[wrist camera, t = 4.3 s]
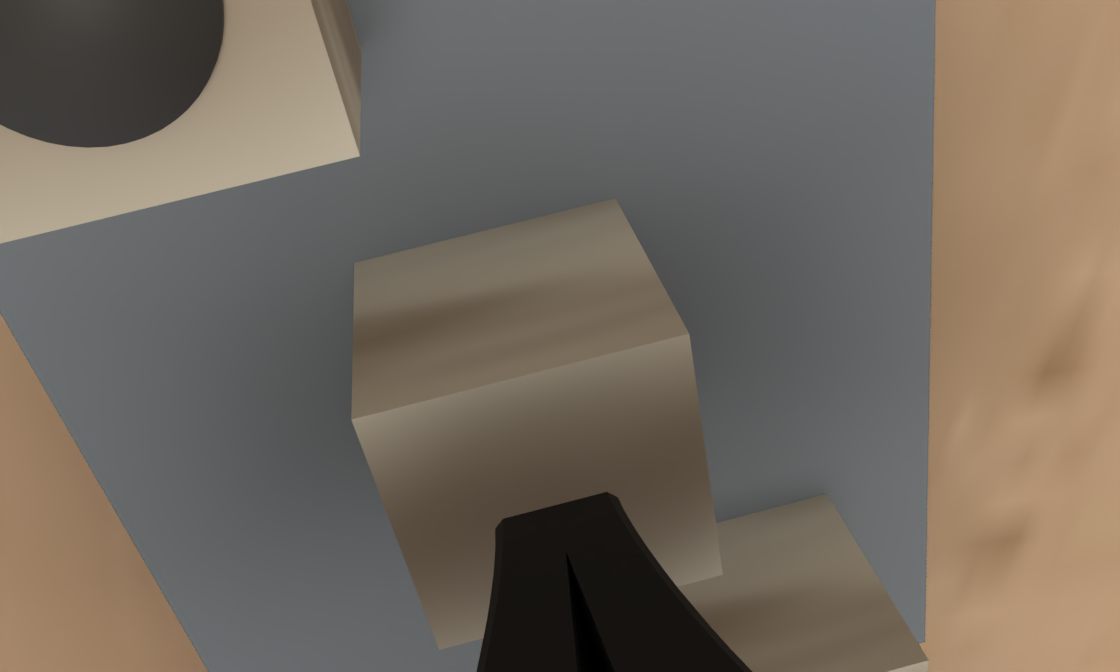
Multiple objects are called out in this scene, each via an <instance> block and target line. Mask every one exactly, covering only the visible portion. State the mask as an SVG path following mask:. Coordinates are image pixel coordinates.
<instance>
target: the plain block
mask: <svg viewBox="0 0 1120 672" xmlns="http://www.w3.org/2000/svg"><path fill="white" fill-rule="evenodd" d="M351 420H352V423H353V425H354V428H355V431H356V433H357V436H358V439H359V441H360V444H361V446H362V449H363V452H364V454H365V457H366V460H367V462H368V465H369V467H370V470H371V473H372V475H373V478H374V481H375V483H376V486H377V488H378V491H379V494H380V496H381V499H382V502H383V504H384V507H385V509H386V512H387V515H388V517H389V520H390V523H391V525H392V528H393V530H394V533H395V536H396V538H397V541H398V544H399V546H400V549H401V551H402V554H403V557H404V559H405V562H406V565H407V567H408V570H409V572H410V575H411V578H412V580H413V583H414V585H415V588H416V591H417V593H418V596H419V599H420V601H421V604H422V606H423V609H424V612H425V614H426V617H427V620H428V622H429V625H430V627H431V630H432V633H433V635H434V638H435V641H436V643H437V646H438V648H439V650H441V649H445V648H449V647H452V646H456V645H460V644H464V643H467V642H471V641H475V640H479V639H483V637H484V632H485V627H486V622H487V616H488V610H489V603H490V596H491V590H492V582H493V573H494V561H495V528H496V527H497V526H498V524H499V523H500V522H501V520H502V519H504V518H508V517H512V516H516V515H519V514H523V513H527V512H531V511H535V510H539V509H542V508H546V507H550V506H554V505H558V504H562V503H566V502H569V501H573V500H577V499H581V498H585V497H589V496H592V495H596V494H600V493H604V492H609V493H611V494H613V495H615V496H616V497H618V498H619V501H620V503H621V505H622V507H623V509H624V511H625V512H626V514H627V516H628V518H629V519H630V521H631V523H632V524H633V526H634V528H635V529H636V531H637V532H638V534H639V535H640V537H641V538H642V540H643V541H644V543H645V544H646V546H647V547H648V549H649V550H650V551H651V553H652V554H653V555H654V557H655V558H656V560H657V561H658V562H659V564H660V565H661V566H662V568H663V569H664V571H665V572H666V573H667V574H668V576H669V577H670V578H671V580H672V581H673V582H674V583H675V585H676V586H677V587H678V586H682V585H686V584H690V583H693V582H697V581H701V580H705V579H709V578H712V577H716V576H720V575H723V571H722V564H721V557H720V550H719V543H718V535H717V528H716V521H715V514H714V507H713V500H712V493H711V485H710V478H709V471H708V464H707V457H706V450H705V443H704V435H703V428H702V421H701V414H700V407H699V400H698V393H697V385H696V378H695V371H694V364H693V357H692V350H691V343H690V335H689V332H688V330H687V329H686V327H685V325H684V323H683V321H682V319H681V318H680V316H679V314H678V312H677V310H676V308H675V307H674V305H673V303H672V301H671V299H670V297H669V296H668V294H667V292H666V290H665V288H664V286H663V285H662V283H661V281H660V279H659V277H658V275H657V274H656V272H655V270H654V268H653V266H652V264H651V263H650V261H649V259H648V257H647V255H646V253H645V252H644V250H643V248H642V246H641V244H640V242H639V240H638V239H637V237H636V235H635V233H634V231H633V229H632V228H631V226H630V224H629V222H628V220H627V218H626V217H625V215H624V213H623V211H622V209H621V207H620V206H619V204H618V202H617V200H616V198H615V199H611V200H607V201H603V202H598V203H594V204H590V205H586V206H582V207H578V208H574V209H570V210H566V211H562V212H558V213H554V214H550V215H546V216H542V217H538V218H534V219H530V220H526V221H522V222H518V223H514V224H510V225H506V226H501V227H497V228H493V229H489V230H485V231H481V232H477V233H473V234H469V235H465V236H461V237H457V238H453V239H449V240H445V241H441V242H437V243H433V244H429V245H425V246H421V247H417V248H413V249H409V250H405V251H400V252H396V253H392V254H388V255H384V256H380V257H376V258H372V259H368V260H364V261H360V262H356V263H354V309H353V359H352V410H351Z"/></svg>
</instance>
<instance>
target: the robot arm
mask: <svg viewBox="0 0 1120 672" xmlns="http://www.w3.org/2000/svg"><path fill="white" fill-rule="evenodd" d="M477 672H752V671H751V670H750V669H749V667H748V666H747V665H746V664H745V663H744V662H743V661H742V660H741V659H740V658H739V657H738V656H737V655H736V654H735V653H734V652H733V651H732V650H731V649H730V648H729V646H728V645H727V644H726V643H725V642H724V641H723V640H722V639H721V638H720V637H719V635H718V634H717V633H716V632H715V631H714V630H713V629H712V628H711V626H710V625H709V624H708V623H707V622H706V621H705V619H704V618H703V617H702V616H701V615H700V613H699V612H698V611H697V610H696V609H695V607H694V606H693V605H692V604H691V603H690V602H689V600H688V599H687V598H686V597H685V596H684V594H683V593H682V592H681V591H680V590H679V588H678V587H677V586H676V585H675V583H674V582H673V581H672V580H671V578H670V577H669V576H668V574H667V573H666V572H665V571H664V569H663V568H662V566H661V565H660V564H659V562H658V561H657V560H656V558H655V557H654V555H653V554H652V553H651V551H650V550H649V549H648V547H647V546H646V544H645V543H644V541H643V540H642V538H641V537H640V535H639V534H638V532H637V531H636V529H635V528H634V526H633V524H632V523H631V521H630V519H629V518H628V516H627V514H626V512H625V511H624V509H623V507H622V505H621V503H620V501H619V498H618V497H616V496H615V495H613V494H611V493H609V492H604V493H600V494H596V495H592V496H589V497H585V498H581V499H577V500H573V501H569V502H566V503H562V504H558V505H554V506H550V507H546V508H542V509H539V510H535V511H531V512H527V513H523V514H519V515H516V516H512V517H508V518H504V519H502V520H501V522H500V523H499V524H498V526H497V527H496V528H495V561H494V573H493V582H492V590H491V596H490V603H489V610H488V616H487V622H486V627H485V632H484V637H483V642H482V647H481V652H480V657H479V662H478V667H477Z"/></svg>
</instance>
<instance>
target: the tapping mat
mask: <svg viewBox="0 0 1120 672" xmlns="http://www.w3.org/2000/svg"><path fill="white" fill-rule="evenodd" d="M347 3H348V6H349V9H350V13H351V16H352V19H353V23H354V26H355V29H356V33H357V36H358V39H359V43H360V46H361V113H360V156H359V157H355V158H351V159H347V160H342V161H338V162H334V163H330V164H326V165H322V166H318V167H314V168H310V169H305V170H301V171H297V172H293V173H289V174H285V175H281V176H277V177H272V178H268V179H264V180H260V181H256V182H252V183H248V184H244V185H239V186H235V187H231V188H227V189H223V190H219V191H215V192H211V193H207V194H202V195H198V196H194V197H190V198H186V199H182V200H178V201H174V202H169V203H165V204H161V205H157V206H153V207H149V208H145V209H141V210H137V211H132V212H128V213H124V214H120V215H116V216H112V217H108V218H104V219H99V220H95V221H91V222H87V223H83V224H79V225H75V226H71V227H67V228H62V229H58V230H54V231H50V232H46V233H42V234H38V235H34V236H29V237H25V238H21V239H17V240H13V241H9V242H5V243H1V244H0V313H1V315H2V317H3V319H4V320H5V322H6V324H7V325H8V327H9V329H10V331H11V332H12V334H13V336H14V338H15V339H16V341H17V343H18V344H19V346H20V348H21V350H22V351H23V353H24V355H25V356H26V358H27V360H28V362H29V363H30V365H31V367H32V369H33V370H34V372H35V374H36V375H37V377H38V379H39V381H40V382H41V384H42V386H43V387H44V389H45V391H46V393H47V394H48V396H49V398H50V400H51V401H52V403H53V405H54V406H55V408H56V410H57V412H58V413H59V415H60V417H61V419H62V420H63V422H64V424H65V425H66V427H67V429H68V431H69V432H70V434H71V436H72V437H73V439H74V441H75V443H76V444H77V446H78V448H79V450H80V451H81V453H82V455H83V456H84V458H85V460H86V462H87V463H88V465H89V467H90V468H91V470H92V472H93V474H94V475H95V477H96V479H97V481H98V482H99V484H100V486H101V487H102V489H103V491H104V493H105V494H106V496H107V498H108V500H109V501H110V503H111V505H112V506H113V508H114V510H115V512H116V513H117V515H118V517H119V518H120V520H121V522H122V524H123V525H124V527H125V529H126V531H127V532H128V534H129V536H130V537H131V539H132V541H133V543H134V544H135V546H136V548H137V549H138V551H139V553H140V555H141V556H142V558H143V560H144V562H145V563H146V565H147V567H148V568H149V570H150V572H151V574H152V575H153V577H154V579H155V581H156V582H157V584H158V586H159V587H160V589H161V591H162V593H163V594H164V596H165V598H166V599H167V601H168V603H169V605H170V606H171V608H172V610H173V612H174V613H175V615H176V617H177V618H178V620H179V622H180V624H181V625H182V627H183V629H184V630H185V632H186V634H187V636H188V637H189V639H190V641H191V643H192V644H193V646H194V648H195V649H196V651H197V653H198V655H199V656H200V658H201V660H202V662H203V663H204V665H205V667H206V668H207V670H208V672H477V667H478V662H479V657H480V652H481V647H482V642H483V639H479V640H475V641H471V642H467V643H464V644H460V645H456V646H452V647H449V648H445V649H441V650H439V648H438V646H437V643H436V641H435V638H434V635H433V633H432V630H431V627H430V625H429V622H428V620H427V617H426V614H425V612H424V609H423V606H422V604H421V601H420V599H419V596H418V593H417V591H416V588H415V585H414V583H413V580H412V578H411V575H410V572H409V570H408V567H407V565H406V562H405V559H404V557H403V554H402V551H401V549H400V546H399V544H398V541H397V538H396V536H395V533H394V530H393V528H392V525H391V523H390V520H389V517H388V515H387V512H386V509H385V507H384V504H383V502H382V499H381V496H380V494H379V491H378V488H377V486H376V483H375V481H374V478H373V475H372V473H371V470H370V467H369V465H368V462H367V460H366V457H365V454H364V452H363V449H362V446H361V444H360V441H359V439H358V436H357V433H356V431H355V428H354V425H353V423H352V420H351V410H352V359H353V309H354V263H356V262H360V261H364V260H368V259H372V258H376V257H380V256H384V255H388V254H392V253H396V252H400V251H405V250H409V249H413V248H417V247H421V246H425V245H429V244H433V243H437V242H441V241H445V240H449V239H453V238H457V237H461V236H465V235H469V234H473V233H477V232H481V231H485V230H489V229H493V228H497V227H501V226H506V225H510V224H514V223H518V222H522V221H526V220H530V219H534V218H538V217H542V216H546V215H550V214H554V213H558V212H562V211H566V210H570V209H574V208H578V207H582V206H586V205H590V204H594V203H598V202H603V201H607V200H611V199H615V198H616V200H617V202H618V204H619V206H620V207H621V209H622V211H623V213H624V215H625V217H626V218H627V220H628V222H629V224H630V226H631V228H632V229H633V231H634V233H635V235H636V237H637V239H638V240H639V242H640V244H641V246H642V248H643V250H644V252H645V253H646V255H647V257H648V259H649V261H650V263H651V264H652V266H653V268H654V270H655V272H656V274H657V275H658V277H659V279H660V281H661V283H662V285H663V286H664V288H665V290H666V292H667V294H668V296H669V297H670V299H671V301H672V303H673V305H674V307H675V308H676V310H677V312H678V314H679V316H680V318H681V319H682V321H683V323H684V325H685V327H686V329H687V330H688V332H689V335H690V343H691V350H692V357H693V364H694V371H695V378H696V385H697V393H698V400H699V407H700V414H701V421H702V428H703V435H704V443H705V450H706V457H707V464H708V471H709V478H710V485H711V493H712V500H713V507H714V514H715V521H716V523H718V522H722V521H726V520H730V519H734V518H737V517H741V516H745V515H749V514H753V513H756V512H760V511H764V510H768V509H772V508H775V507H779V506H783V505H787V504H791V503H794V502H798V501H802V500H806V499H810V498H813V497H817V496H821V495H825V494H827V495H828V497H829V498H830V500H831V502H832V503H833V505H834V506H835V508H836V510H837V511H838V513H839V515H840V516H841V518H842V520H843V521H844V523H845V524H846V526H847V528H848V529H849V531H850V533H851V534H852V536H853V538H854V539H855V541H856V542H857V544H858V546H859V547H860V549H861V551H862V552H863V554H864V556H865V557H866V559H867V560H868V562H869V564H870V565H871V567H872V569H873V570H874V572H875V574H876V575H877V577H878V578H879V580H880V582H881V583H882V585H883V587H884V588H885V590H886V592H887V593H888V595H889V597H890V598H891V600H892V601H893V603H894V605H895V606H896V608H897V610H898V611H899V613H900V615H901V616H902V618H903V619H904V621H905V623H906V624H907V626H908V628H909V629H910V631H911V633H912V634H913V636H914V637H915V639H916V641H917V642H918V644H919V643H922V642H925V610H926V549H927V489H928V428H929V368H930V307H931V247H932V186H933V126H934V65H935V5H936V0H347Z"/></svg>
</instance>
